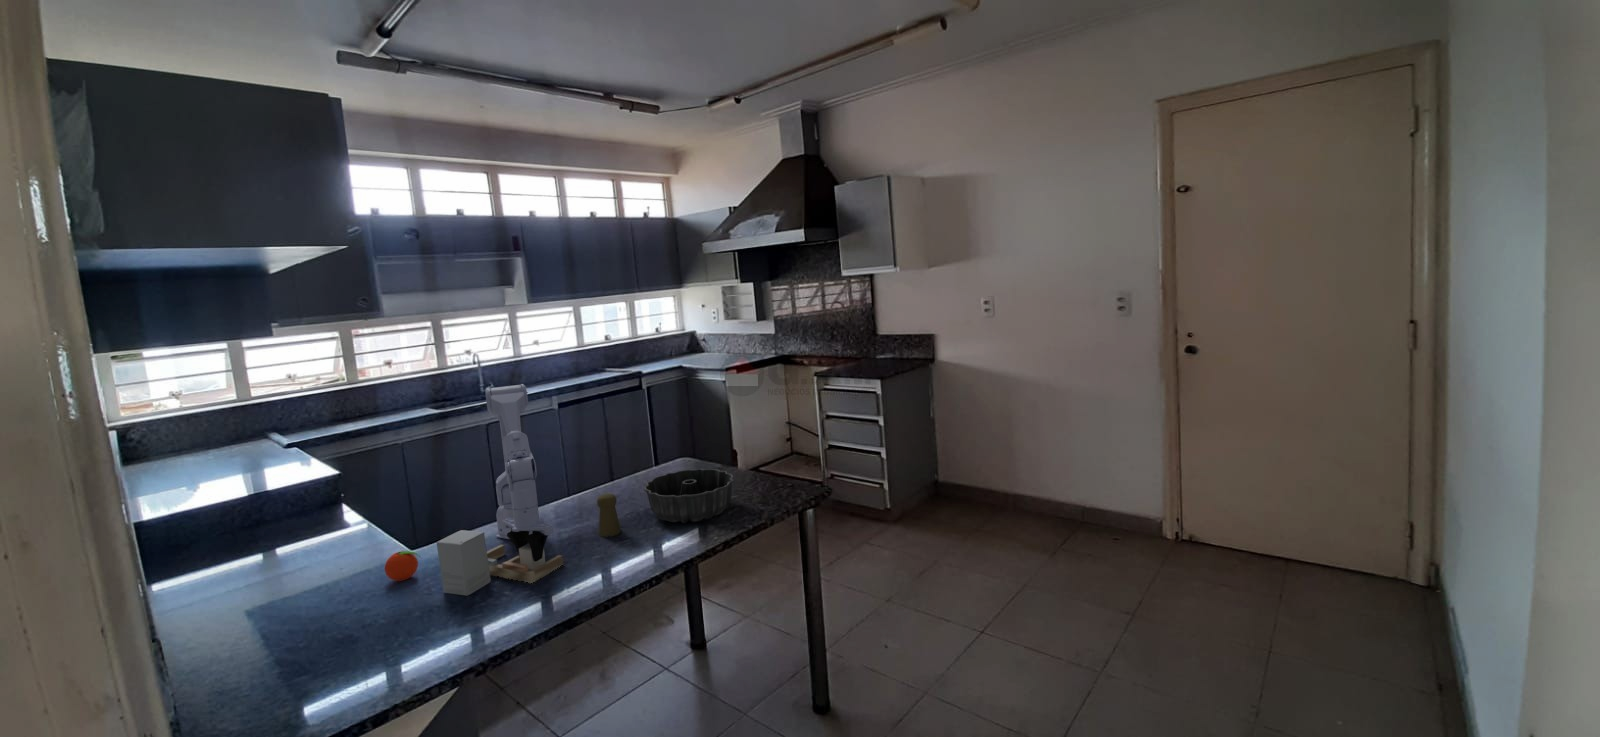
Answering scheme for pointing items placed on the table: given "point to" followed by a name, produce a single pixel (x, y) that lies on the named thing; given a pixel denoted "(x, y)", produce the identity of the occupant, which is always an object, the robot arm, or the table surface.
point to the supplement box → (463, 562)
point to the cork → (608, 516)
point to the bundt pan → (690, 494)
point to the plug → (529, 557)
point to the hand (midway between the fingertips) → (531, 558)
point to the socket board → (519, 566)
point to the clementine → (401, 565)
